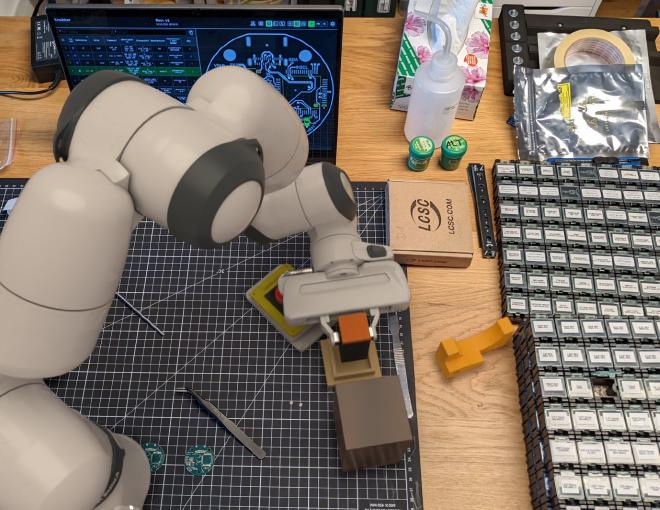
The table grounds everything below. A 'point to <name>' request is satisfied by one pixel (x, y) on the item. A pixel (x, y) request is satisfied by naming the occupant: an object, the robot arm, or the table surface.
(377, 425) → the stand
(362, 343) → the orange and black block
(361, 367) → the base pad
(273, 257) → the table surface
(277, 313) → the emergency button
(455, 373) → the orange curved piece
